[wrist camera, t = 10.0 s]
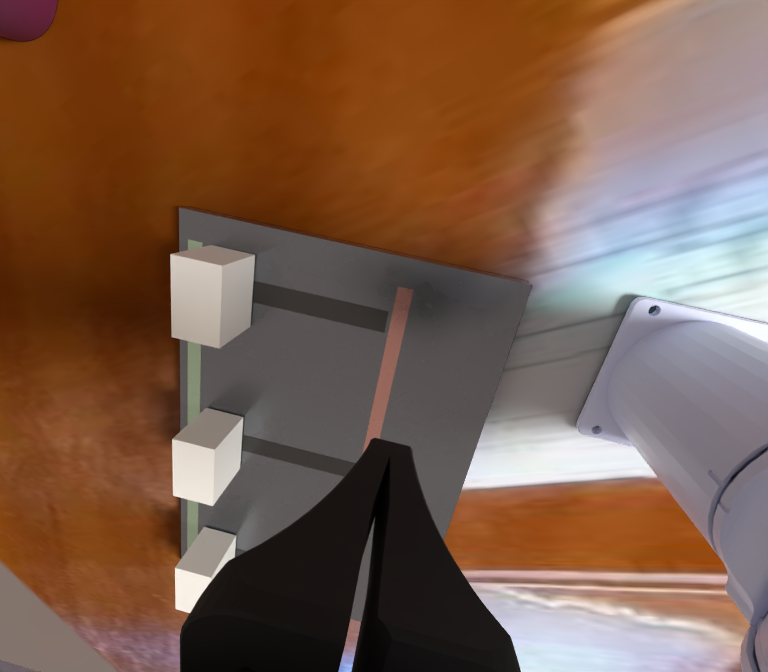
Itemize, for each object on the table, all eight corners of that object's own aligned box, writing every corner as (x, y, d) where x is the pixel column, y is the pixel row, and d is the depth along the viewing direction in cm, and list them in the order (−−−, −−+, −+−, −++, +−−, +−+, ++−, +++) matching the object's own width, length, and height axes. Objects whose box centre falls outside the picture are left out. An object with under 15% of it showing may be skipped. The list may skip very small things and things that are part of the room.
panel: (528, 280, 19) (532, 285, 18) (411, 621, 29) (410, 635, 28) (190, 206, 20) (178, 207, 19) (189, 560, 30) (181, 572, 29)
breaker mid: (243, 417, 23) (214, 449, 20) (240, 468, 25) (212, 506, 22) (206, 407, 23) (172, 438, 20) (204, 459, 25) (173, 495, 22)
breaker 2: (236, 535, 27) (211, 577, 24) (233, 574, 28) (209, 618, 25) (203, 526, 27) (175, 567, 24) (203, 565, 29) (175, 609, 26)
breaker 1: (255, 254, 20) (222, 266, 17) (250, 326, 21) (219, 348, 18) (210, 244, 20) (170, 254, 17) (208, 316, 21) (171, 337, 18)
